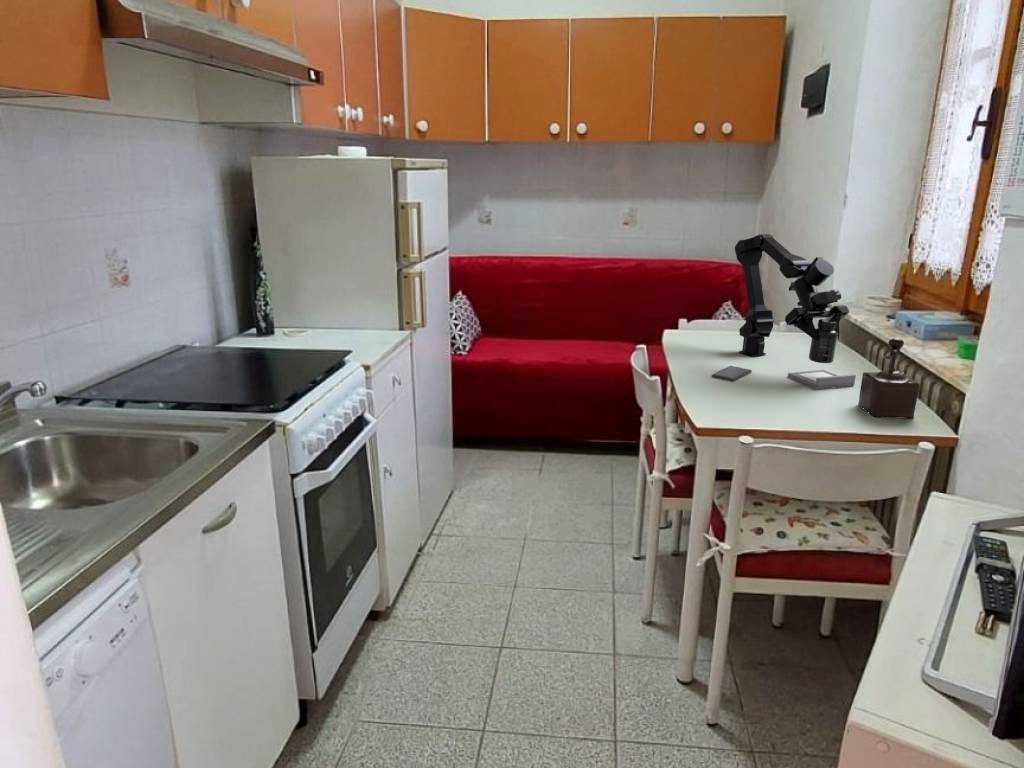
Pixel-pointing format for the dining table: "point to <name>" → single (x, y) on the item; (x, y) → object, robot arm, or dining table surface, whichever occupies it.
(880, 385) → the pepper mill
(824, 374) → the tray
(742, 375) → the phone
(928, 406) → the dining table surface
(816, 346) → the supplement bottle
